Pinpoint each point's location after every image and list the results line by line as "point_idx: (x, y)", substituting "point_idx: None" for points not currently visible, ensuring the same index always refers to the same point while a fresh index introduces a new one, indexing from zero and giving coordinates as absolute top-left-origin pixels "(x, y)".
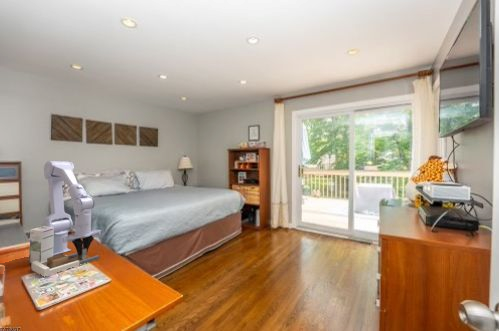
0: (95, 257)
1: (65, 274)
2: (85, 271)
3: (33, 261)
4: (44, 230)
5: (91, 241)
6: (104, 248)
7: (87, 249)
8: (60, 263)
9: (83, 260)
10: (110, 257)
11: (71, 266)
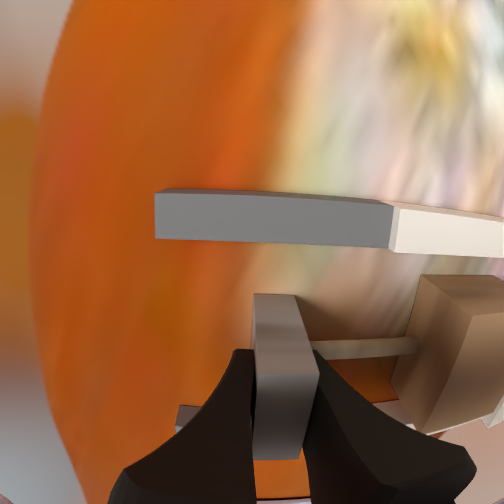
0: (208, 192)
1: (494, 138)
2: (405, 33)
3: None
4: None
5: (168, 449)
6: (49, 388)
7: (236, 373)
8: (491, 294)
9: (346, 217)
10: (82, 135)
11: (445, 210)
